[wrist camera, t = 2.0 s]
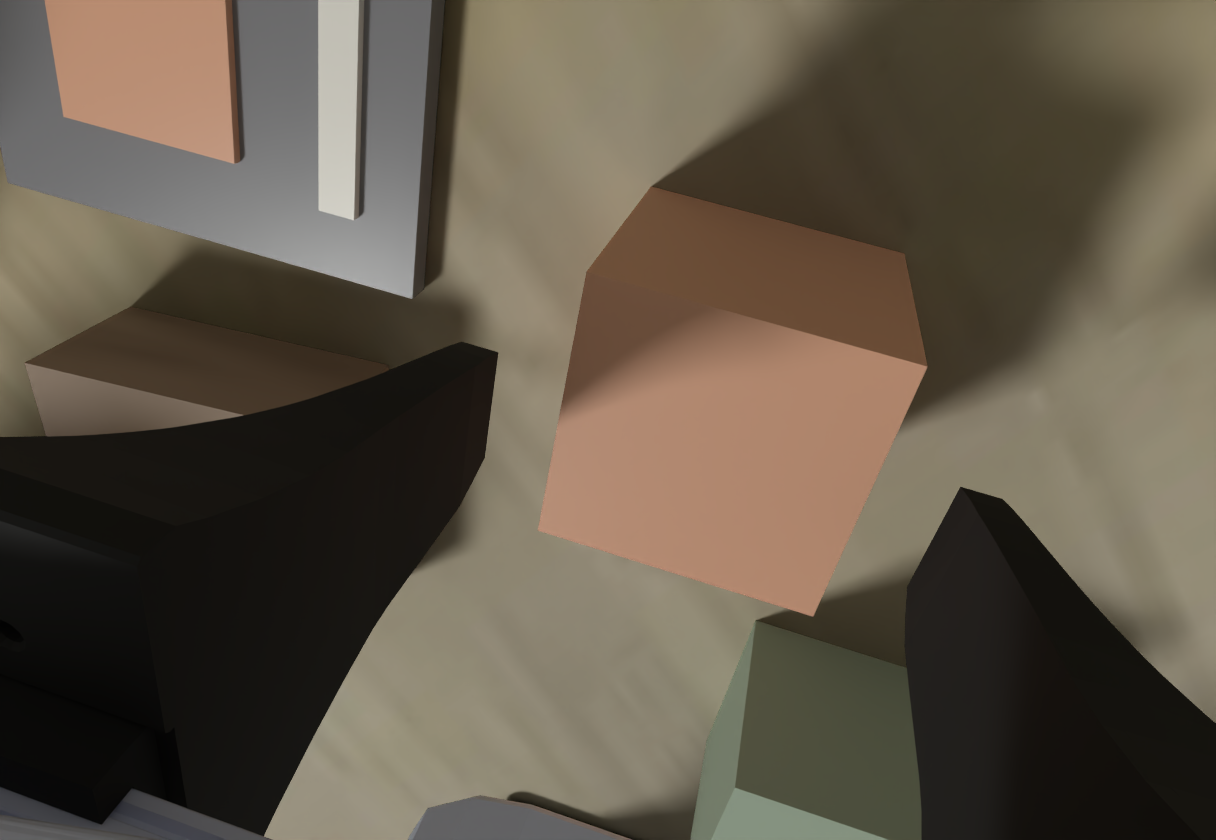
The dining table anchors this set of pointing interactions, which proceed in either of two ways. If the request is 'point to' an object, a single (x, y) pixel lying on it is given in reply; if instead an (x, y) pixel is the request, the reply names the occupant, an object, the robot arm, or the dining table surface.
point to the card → (235, 122)
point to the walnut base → (176, 375)
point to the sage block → (810, 747)
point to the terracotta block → (731, 397)
